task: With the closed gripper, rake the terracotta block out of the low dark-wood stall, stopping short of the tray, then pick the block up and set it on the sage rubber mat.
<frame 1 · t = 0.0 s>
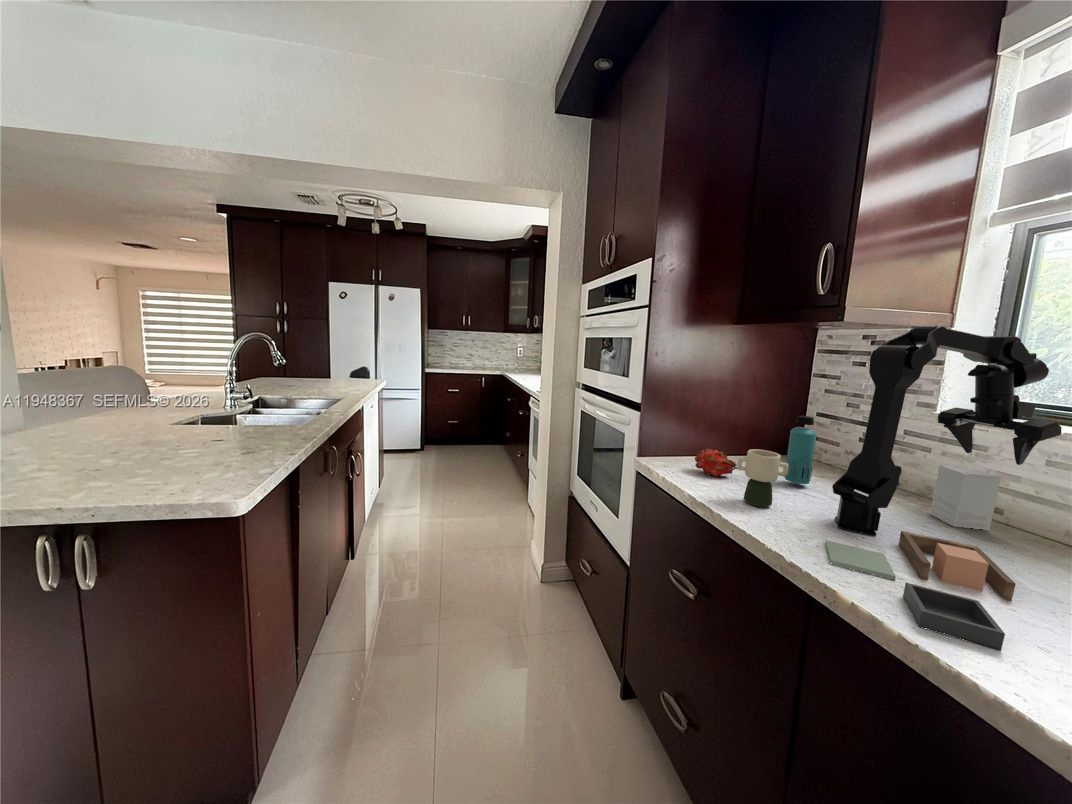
hand: (993, 458, 94), 15 cm above the counter, tool pointing down, fingers open, 9 cm apart
block: (955, 579, 71), on the counter
beverage bottle: (795, 486, 116), on the counter
supplement box: (958, 523, 95), on the counter
dragon fruit: (713, 475, 122), on the counter
character mug: (757, 504, 101), on the counter
tray: (947, 621, 59), on the counter
stall: (948, 569, 74), on the counter
mat: (857, 560, 75), on the counter
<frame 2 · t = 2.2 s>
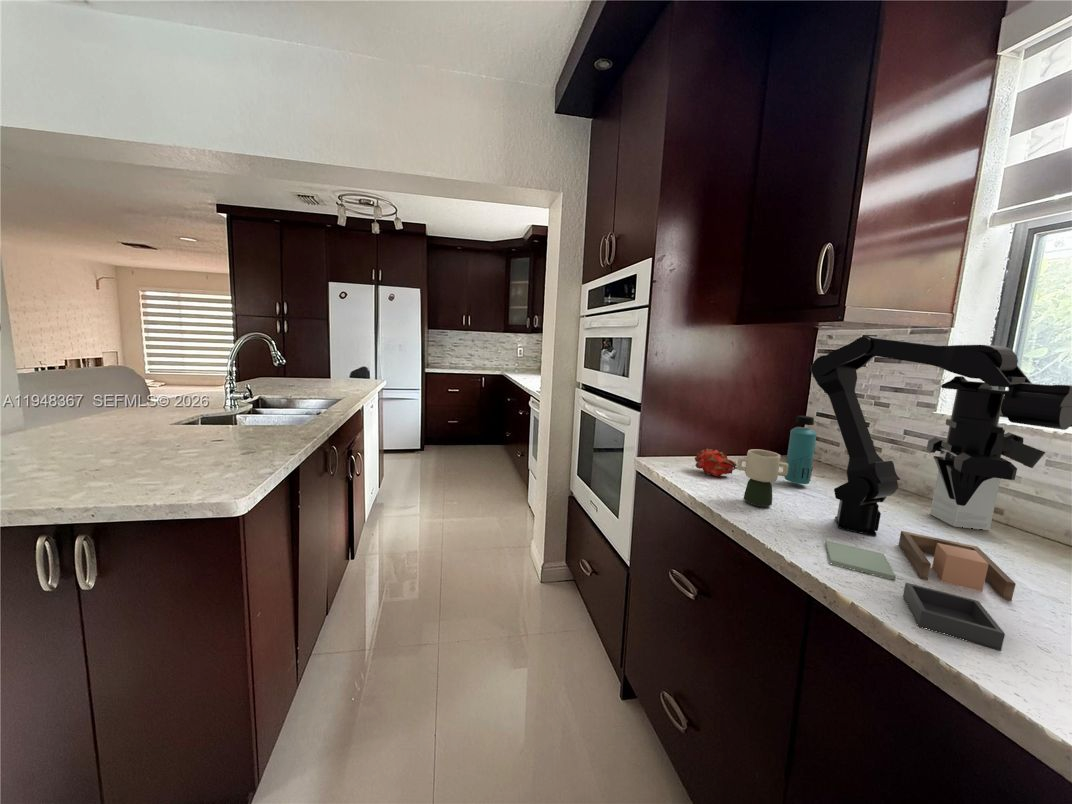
hand: (956, 502, 74), 12 cm above the counter, tool pointing down, fingers open, 3 cm apart
nothing on the counter moved.
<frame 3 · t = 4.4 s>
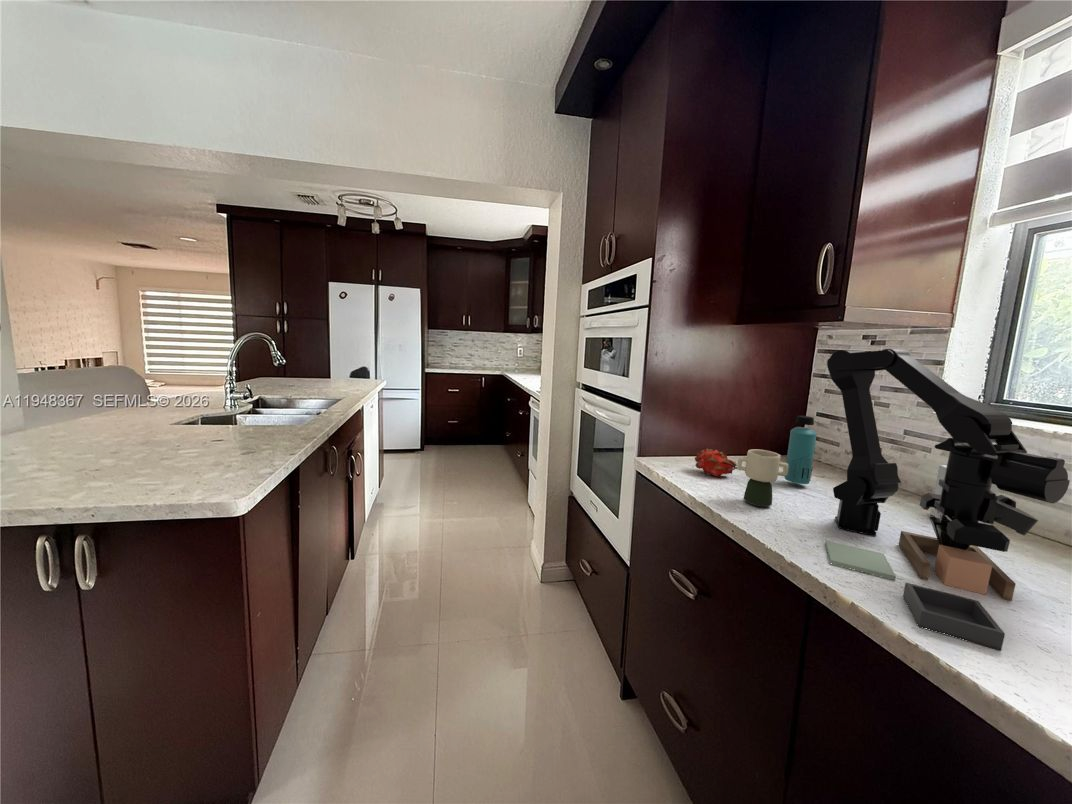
hand: (949, 563, 74), 1 cm above the counter, tool pointing down, fingers closed
block: (958, 582, 70), on the counter, touching gripper
everything else where it was.
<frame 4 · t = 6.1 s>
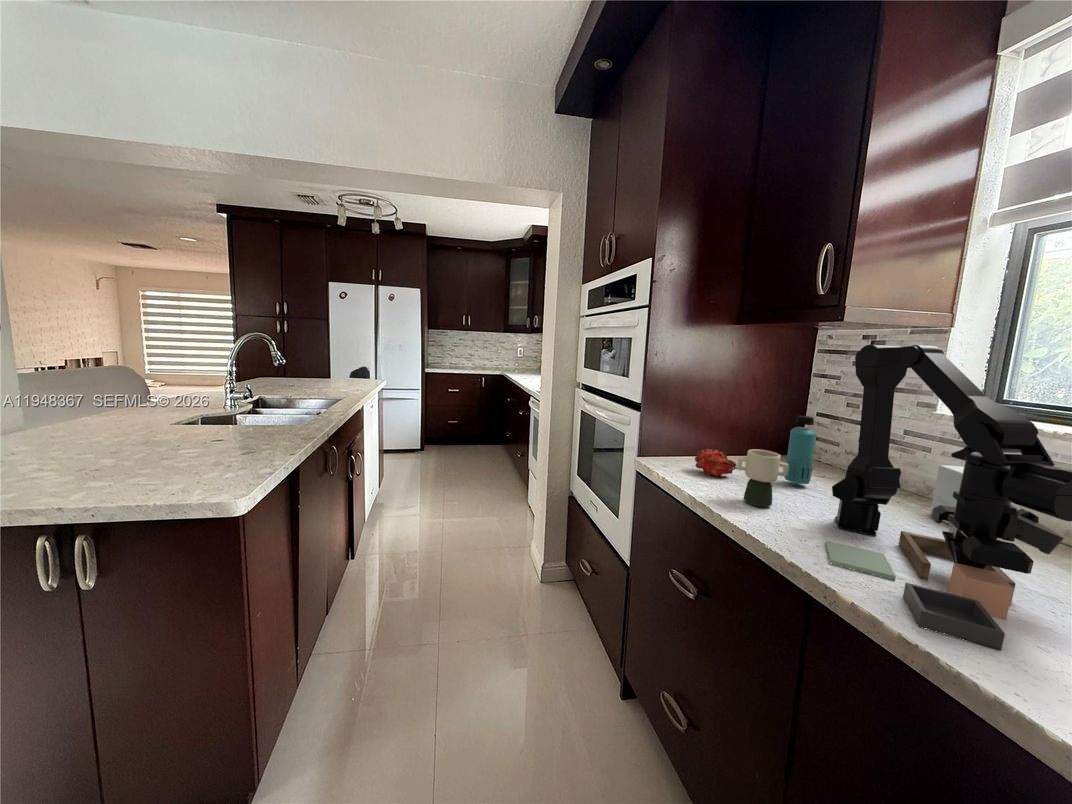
hand: (964, 583, 68), 1 cm above the counter, tool pointing down, fingers closed
block: (975, 604, 64), on the counter, touching gripper
everything else where it was.
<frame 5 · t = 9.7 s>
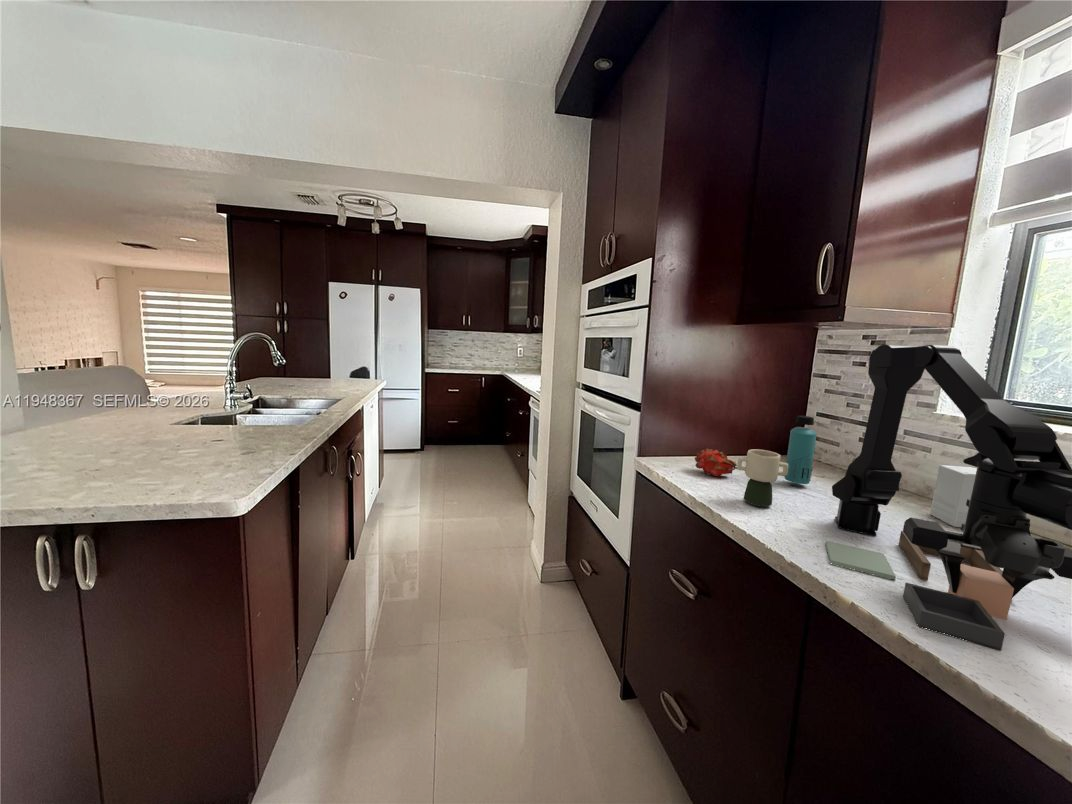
hand: (976, 597, 64), 1 cm above the counter, tool pointing down, fingers closed on block, 5 cm apart
block: (975, 604, 64), on the counter, touching gripper
everything else where it was.
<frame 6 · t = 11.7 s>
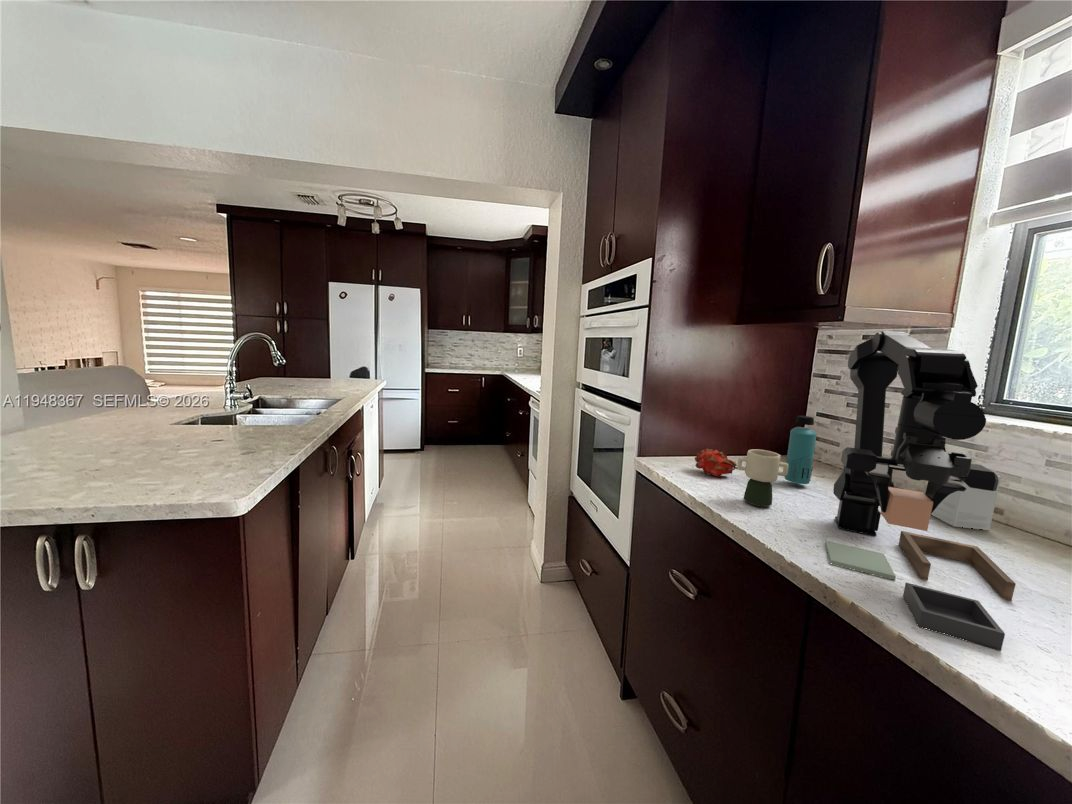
hand: (903, 515, 70), 11 cm above the counter, tool pointing down, fingers closed on block, 5 cm apart
block: (902, 521, 70), point 10 cm above the counter, touching gripper
everything else where it was.
when the fingers open (3 cm above the counter, at t = 13.9 s): block drops 1 cm, resting on mat.
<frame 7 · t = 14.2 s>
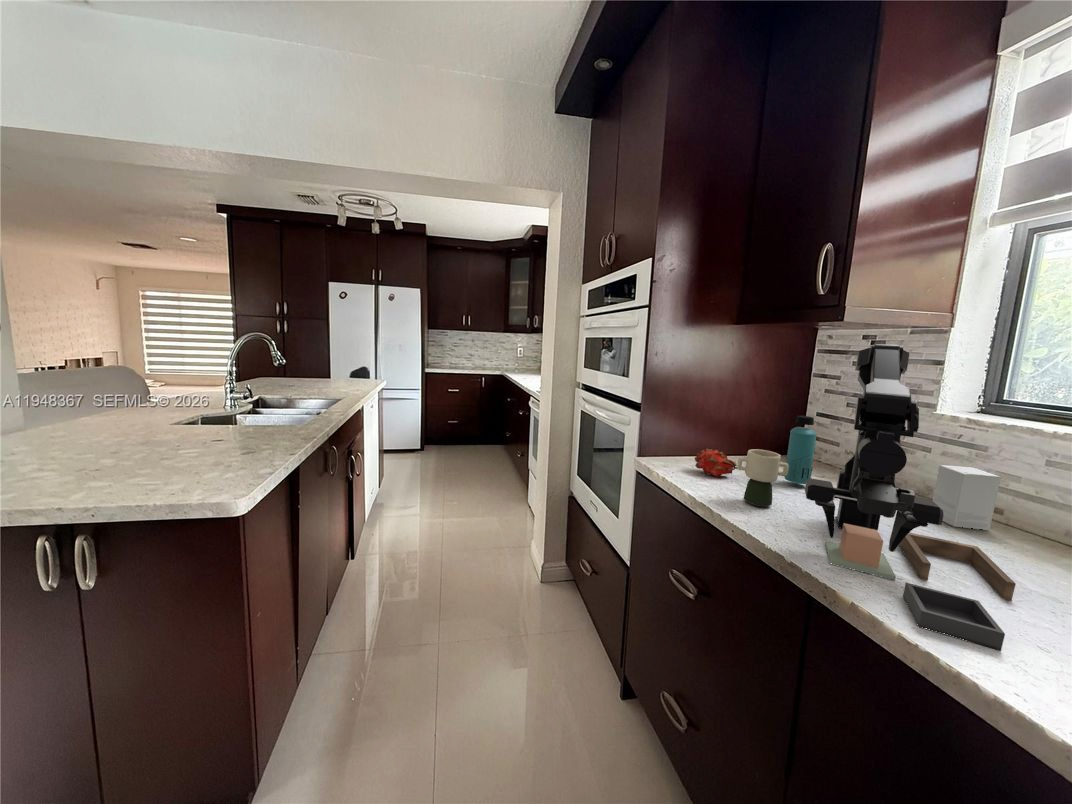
hand: (860, 543, 75), 3 cm above the counter, tool pointing down, fingers open, 8 cm apart
block: (857, 557, 75), point 1 cm above the counter, touching mat
everything else where it was.
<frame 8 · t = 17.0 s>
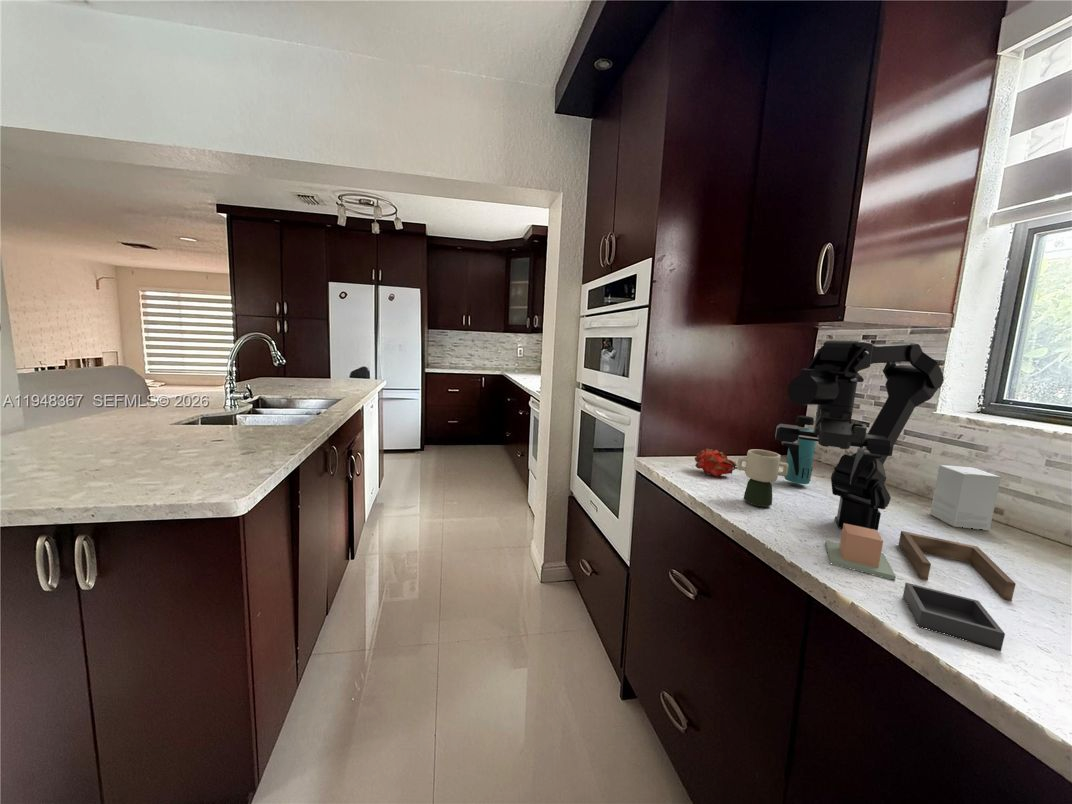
hand: (823, 479, 83), 12 cm above the counter, tool pointing down, fingers open, 9 cm apart
nothing on the counter moved.
at the end: block 0.3 cm off-centre on the mat, point 0.8 cm above the mat's base; block tilted 0°; the gripper is holding nothing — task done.
